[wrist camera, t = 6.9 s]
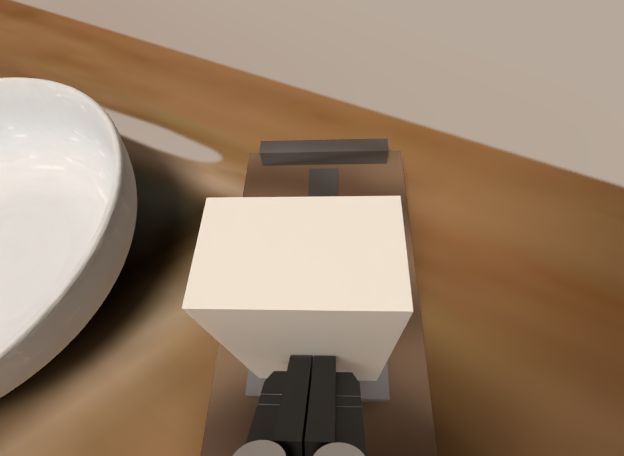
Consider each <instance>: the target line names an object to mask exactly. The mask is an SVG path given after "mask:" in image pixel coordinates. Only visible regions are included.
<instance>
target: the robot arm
mask: <svg viewBox="0 0 624 456" xmlns="http://www.w3.org/2000/svg"><path fill="white" fill-rule="evenodd" d="M233 456H368V455H367V453H366V447H365V436H364V425H363V414H362V403H361V392H360V383H359V381H358V380H357V378H356V377H355V376H354V374H353V373H352V372H336V356H314V360H313V356H309V355H291V356H290V359H289V363H288V368H287V371H273V372H272V373H271V375H270V376H269V377H268V378H267V379H266V380H265V381H264V384H263V388H262V391H261V396H260V397H259V401H258V406H257V407H256V411H255V414H254V417H253V421H252V424H251V427H250V431H249V434H248V437H247V441H246V444H245V445H243V446H242V447H240V448H239V449H238V450H237V451H236V452H235V453H234V455H233Z"/></svg>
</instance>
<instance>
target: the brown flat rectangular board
mask: <svg viewBox="0 0 624 456" xmlns="http://www.w3.org/2000/svg"><path fill="white" fill-rule="evenodd" d="M324 196H401V205H402V214H403V223H404V232H405V241H406V250H407V259H408V268H409V277H410V285H411V294H412V303H413V313H412V315H411V317H410V319H409V321H408V323H407V325H406V326H405V328H404V330H403V332H402V334H401V336H400V338H399V340H398V342H397V343H396V345H395V347H394V349H393V351H392V353H391V355H390V357H389V358H388V360H387V365H388V380H389V394H390V400H389V401H388V402H387V403H380V402H361V403H362V414H363V425H364V436H365V447H366V453H367V455H368V456H438V452H437V444H436V436H435V428H434V420H433V411H432V403H431V395H430V387H429V379H428V370H427V362H426V354H425V346H424V338H423V329H422V321H421V313H420V305H419V297H418V288H417V280H416V272H415V264H414V256H413V247H412V239H411V231H410V223H409V215H408V206H407V198H406V190H405V182H404V173H403V165H402V157H401V151H389V150H388V140H387V139H347V140H300V141H261V145H260V152H259V153H250V155H249V161H248V168H247V174H246V180H245V186H244V192H243V197H324ZM247 377H248V368H247V367H246V366H245V365H244V364H243V363H242V362H241V361H239V360H238V359H237V358H236V357H235V356H234V355H233V354H232V353H231V352H229V351H228V350H227V349H226V348H225V347H224V346H223V345H222V344H221V343H219V346H218V352H217V358H216V364H215V370H214V377H213V383H212V389H211V395H210V401H209V407H208V413H207V420H206V426H205V432H204V438H203V444H202V450H201V456H233V455H234V453H235V452H236V451H237V450H238V449H239V448H240V447H242V446H243V445H245V444H246V441H247V437H248V434H249V431H250V427H251V424H252V421H253V417H254V414H255V411H256V407H257V406H258V401H259V399H251V398H249V397H247V396H245V394H246V385H247Z"/></svg>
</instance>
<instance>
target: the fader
mask: <svg viewBox="0 0 624 456" xmlns="http://www.w3.org/2000/svg"><path fill="white" fill-rule="evenodd" d="M182 309H183V310H184V311H185V312H186V313H187V314H188V315H189V316H190V317H192V318H193V319H194V320H195V321H196V322H197V323H198V324H199V325H200V326H202V327H203V328H204V329H205V330H206V331H207V332H208V333H209V334H210V335H212V336H213V337H214V338H215V339H216V340H217V341H218V342H219V343H221V344H222V345H223V346H224V347H225V348H226V349H227V350H228V351H229V352H231V353H232V354H233V355H234V356H235V357H236V358H237V359H238V360H239V361H241V362H242V363H243V364H244V365H245V366H246V367H247V368H248V377H247V385H246V394H245V396H247V397H249V398H251V399H259V397H260V396H261V391H262V388H263V384H264V381H265V380H266V379H267V378H268V377H269V376H270V375H271V373H272V372H273V371H287V368H288V363H289V359H290V356H291V355H309V356H313V360H314V356H336V372H352V373H353V374H354V376H355V377H356V378H357V380H358V381H359V383H360V392H361V402H380V403H387V402H388V401H389V400H390V394H389V380H388V365H387V360H388V358H389V357H390V355H391V353H392V351H393V349H394V347H395V345H396V343H397V342H398V340H399V338H400V336H401V334H402V332H403V330H404V328H405V326H406V325H407V323H408V321H409V319H410V317H411V315H412V313H413V303H412V294H411V285H410V277H409V268H408V259H407V250H406V241H405V232H404V223H403V214H402V205H401V196H324V197H227V198H207V199H206V203H205V208H204V212H203V217H202V221H201V225H200V230H199V234H198V239H197V243H196V248H195V252H194V257H193V261H192V265H191V270H190V274H189V279H188V283H187V288H186V292H185V297H184V301H183V305H182Z"/></svg>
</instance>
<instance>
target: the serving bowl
mask: <svg viewBox="0 0 624 456" xmlns="http://www.w3.org/2000/svg"><path fill="white" fill-rule="evenodd" d="M136 216H137V189H136V181H135V176H134V171H133V168H132V164H131V161H130V158H129V155H128V152H127V150H126V147H125V145H124V143H123V141H122V139H121V136H120V134H119V132H118V130H117V128H116V127H115V125H114V123H113V121H112V120H111V118H110V117H109V115H108V114H107V113H106V112H105V110H104V109H103V108H102V107H101V106H100V105H99V104H98V103H97V102H96V101H94V100H93V99H92V98H90V97H89V96H87V95H86V94H84V93H82V92H80V91H79V90H77V89H75V88H72V87H70V86H67V85H64V84H61V83H57V82H53V81H49V80H43V79H35V78H0V398H1V397H2V396H4V395H6V394H7V393H9V392H10V391H12V390H13V389H15V388H16V387H17V386H19V385H20V384H22V383H23V382H25V381H26V380H27V379H29V378H30V377H31V376H33V375H34V374H35V373H36V372H38V371H39V370H40V369H42V368H43V367H44V366H45V365H46V364H48V363H49V362H50V361H51V360H52V359H53V358H54V357H55V356H56V355H58V354H59V353H60V352H61V351H62V350H63V349H64V348H65V347H66V346H67V345H68V344H69V343H70V342H71V341H72V340H73V339H74V338H75V337H76V336H77V335H78V334H79V332H80V331H81V330H82V329H83V328H84V327H85V325H86V324H87V323H88V322H89V321H90V319H91V318H92V317H93V315H94V314H95V313H96V312H97V310H98V309H99V307H100V306H101V305H102V303H103V302H104V300H105V299H106V297H107V296H108V294H109V292H110V291H111V289H112V287H113V285H114V283H115V282H116V280H117V278H118V276H119V274H120V272H121V270H122V268H123V265H124V263H125V260H126V258H127V255H128V252H129V249H130V246H131V242H132V239H133V234H134V229H135V223H136Z"/></svg>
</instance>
